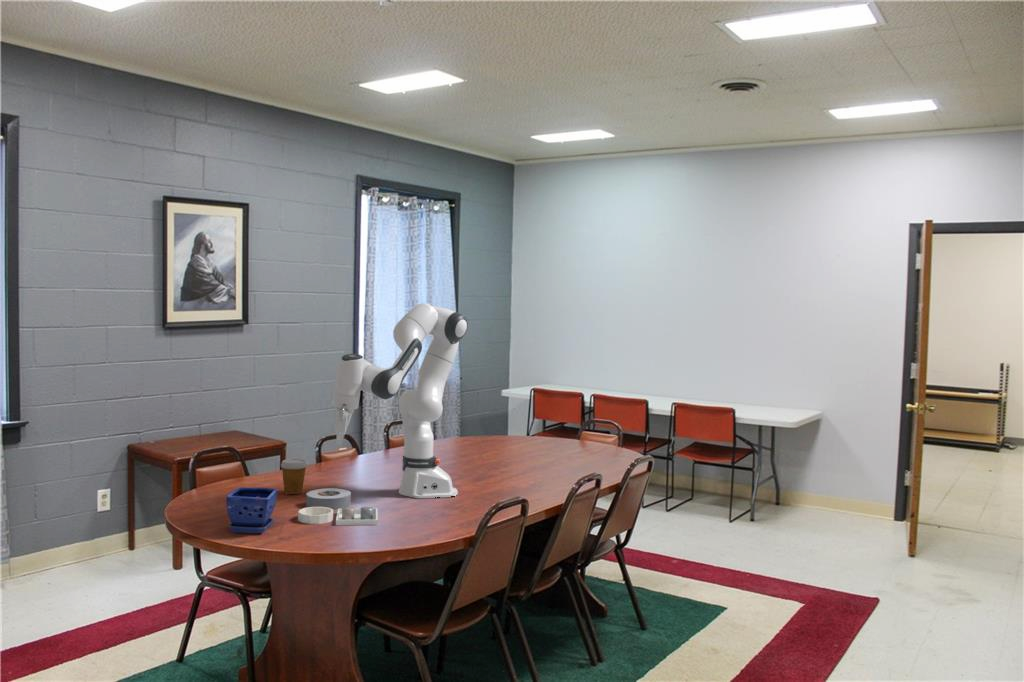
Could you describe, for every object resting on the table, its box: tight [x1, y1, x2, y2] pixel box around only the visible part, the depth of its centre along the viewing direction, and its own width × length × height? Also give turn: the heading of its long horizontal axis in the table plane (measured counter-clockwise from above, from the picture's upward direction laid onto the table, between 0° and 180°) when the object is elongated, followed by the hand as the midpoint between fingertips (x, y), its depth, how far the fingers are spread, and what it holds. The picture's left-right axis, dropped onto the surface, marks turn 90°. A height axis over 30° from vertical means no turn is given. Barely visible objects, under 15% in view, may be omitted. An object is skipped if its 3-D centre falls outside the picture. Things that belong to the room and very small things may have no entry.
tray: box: [335, 507, 379, 526], centre depth 275 cm, size 13×15×2 cm
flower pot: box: [225, 486, 278, 534], centre depth 261 cm, size 13×13×12 cm
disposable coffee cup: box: [280, 458, 308, 495], centre depth 309 cm, size 10×10×12 cm
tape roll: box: [305, 487, 352, 511], centre depth 292 cm, size 15×15×5 cm
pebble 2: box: [360, 506, 374, 520], centre depth 275 cm, size 4×4×4 cm
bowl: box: [297, 506, 334, 525], centre depth 273 cm, size 11×11×4 cm
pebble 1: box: [342, 506, 356, 520], centre depth 274 cm, size 4×4×4 cm
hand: (340, 441), depth 283 cm, fingers open, 8 cm apart
